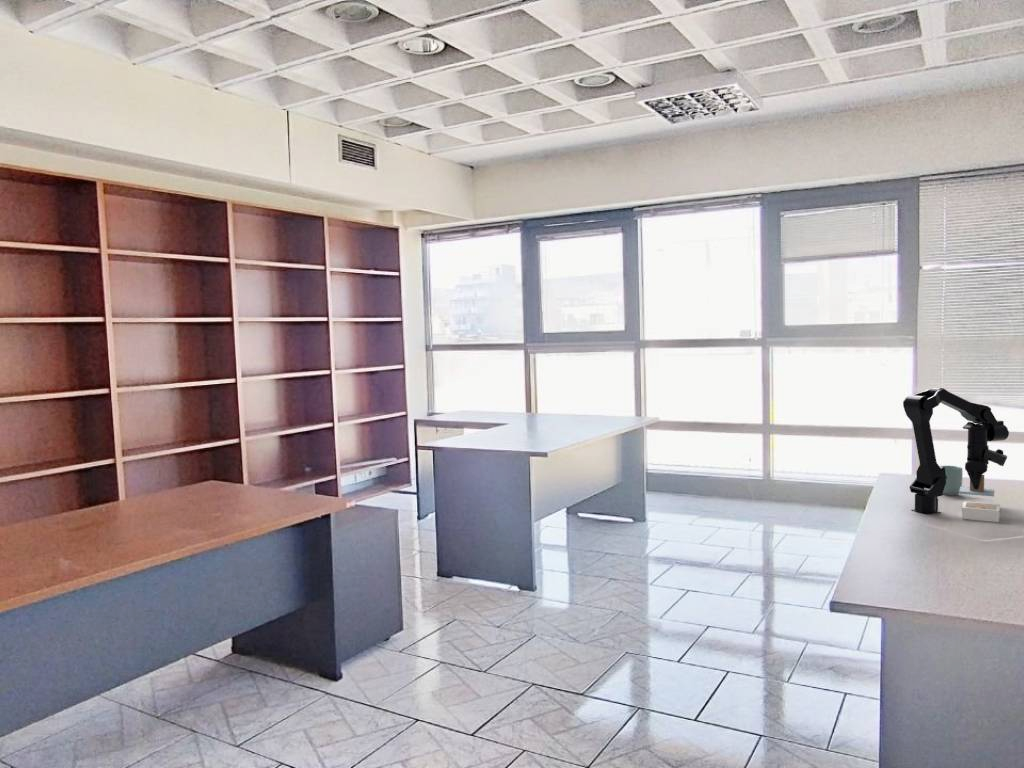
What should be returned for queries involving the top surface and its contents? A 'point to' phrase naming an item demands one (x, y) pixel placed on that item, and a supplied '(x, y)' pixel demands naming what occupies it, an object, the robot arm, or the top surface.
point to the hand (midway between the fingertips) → (976, 488)
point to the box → (981, 511)
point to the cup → (953, 480)
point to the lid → (979, 491)
